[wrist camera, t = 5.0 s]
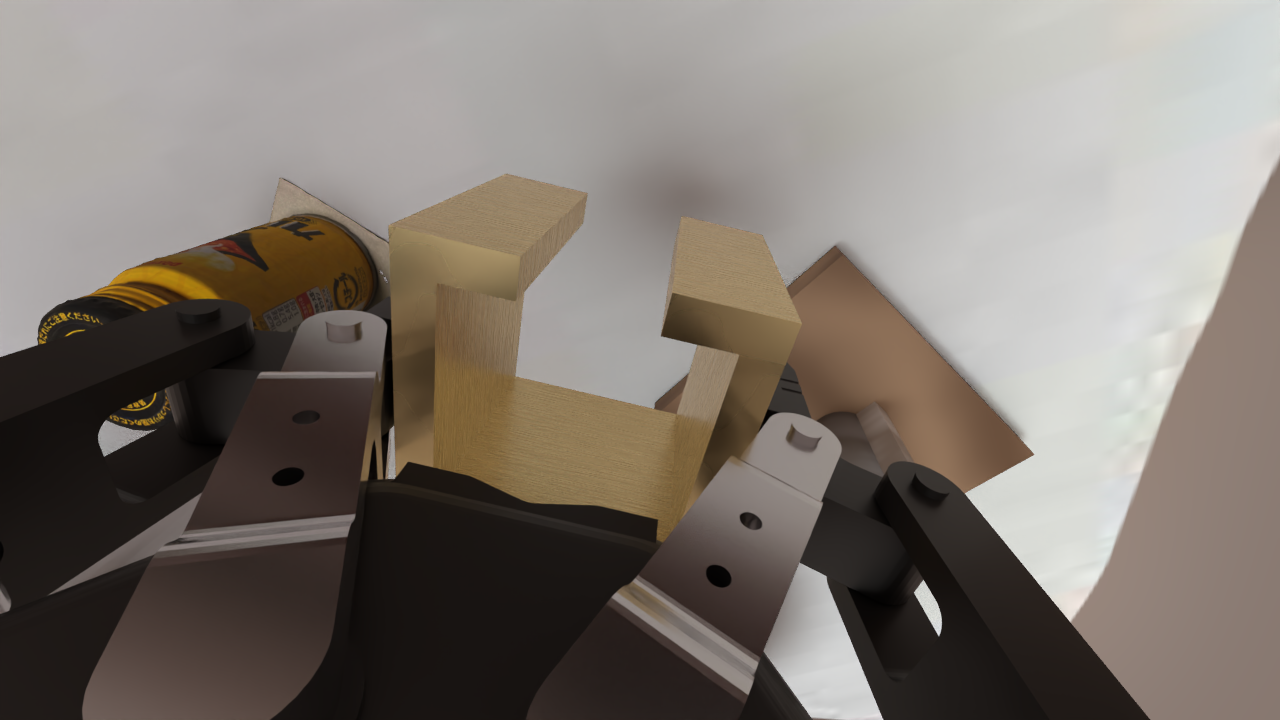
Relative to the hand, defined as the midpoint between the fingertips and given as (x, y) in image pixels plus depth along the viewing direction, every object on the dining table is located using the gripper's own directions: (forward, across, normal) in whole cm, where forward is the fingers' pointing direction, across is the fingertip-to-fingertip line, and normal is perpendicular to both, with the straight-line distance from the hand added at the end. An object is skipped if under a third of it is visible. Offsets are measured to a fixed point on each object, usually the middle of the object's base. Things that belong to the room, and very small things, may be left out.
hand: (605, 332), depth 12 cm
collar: (+1, 0, 0) cm, 1 cm away
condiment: (+15, +16, +8) cm, 23 cm away
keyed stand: (+14, -13, +9) cm, 21 cm away
